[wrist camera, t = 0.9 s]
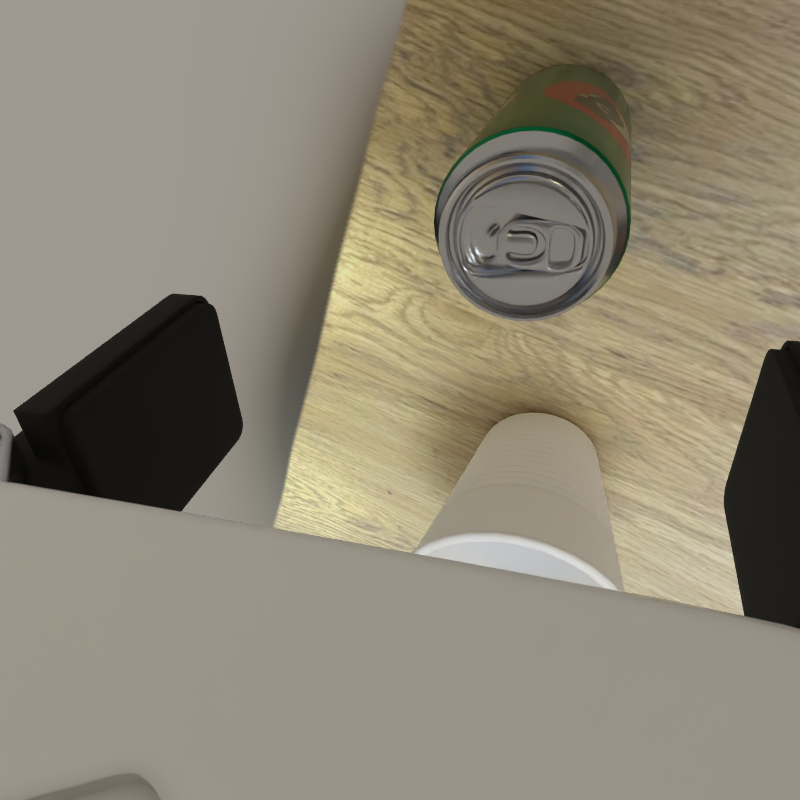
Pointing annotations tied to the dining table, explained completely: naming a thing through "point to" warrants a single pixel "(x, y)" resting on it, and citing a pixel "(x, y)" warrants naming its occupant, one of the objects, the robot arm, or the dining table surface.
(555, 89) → the soda can
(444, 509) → the cup
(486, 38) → the dining table surface
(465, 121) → the dining table surface
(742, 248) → the dining table surface
